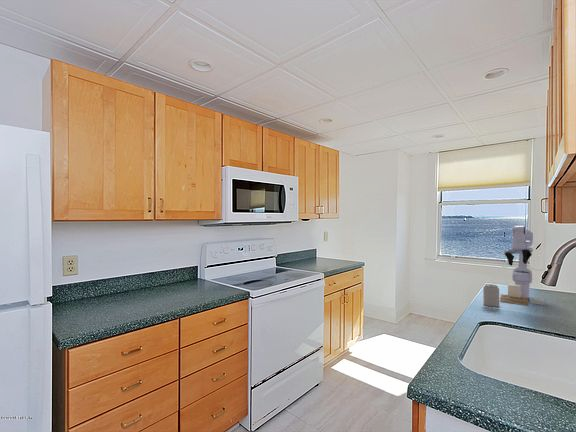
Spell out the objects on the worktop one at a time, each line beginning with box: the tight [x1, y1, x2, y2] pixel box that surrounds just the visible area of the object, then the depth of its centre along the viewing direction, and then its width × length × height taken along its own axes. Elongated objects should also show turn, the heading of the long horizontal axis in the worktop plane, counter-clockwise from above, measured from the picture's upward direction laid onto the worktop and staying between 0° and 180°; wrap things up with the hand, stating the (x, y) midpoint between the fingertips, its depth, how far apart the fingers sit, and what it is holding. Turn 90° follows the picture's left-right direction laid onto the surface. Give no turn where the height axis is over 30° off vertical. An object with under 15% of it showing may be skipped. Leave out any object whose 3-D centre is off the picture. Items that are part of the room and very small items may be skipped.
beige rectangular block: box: [507, 283, 520, 298], centre depth 184 cm, size 2×6×9 cm, turn 52°
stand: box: [529, 297, 547, 306], centre depth 177 cm, size 6×7×3 cm
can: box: [482, 283, 500, 308], centre depth 173 cm, size 8×8×12 cm
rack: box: [499, 293, 529, 306], centre depth 182 cm, size 13×13×3 cm
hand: (517, 264), depth 176 cm, fingers open, 7 cm apart
